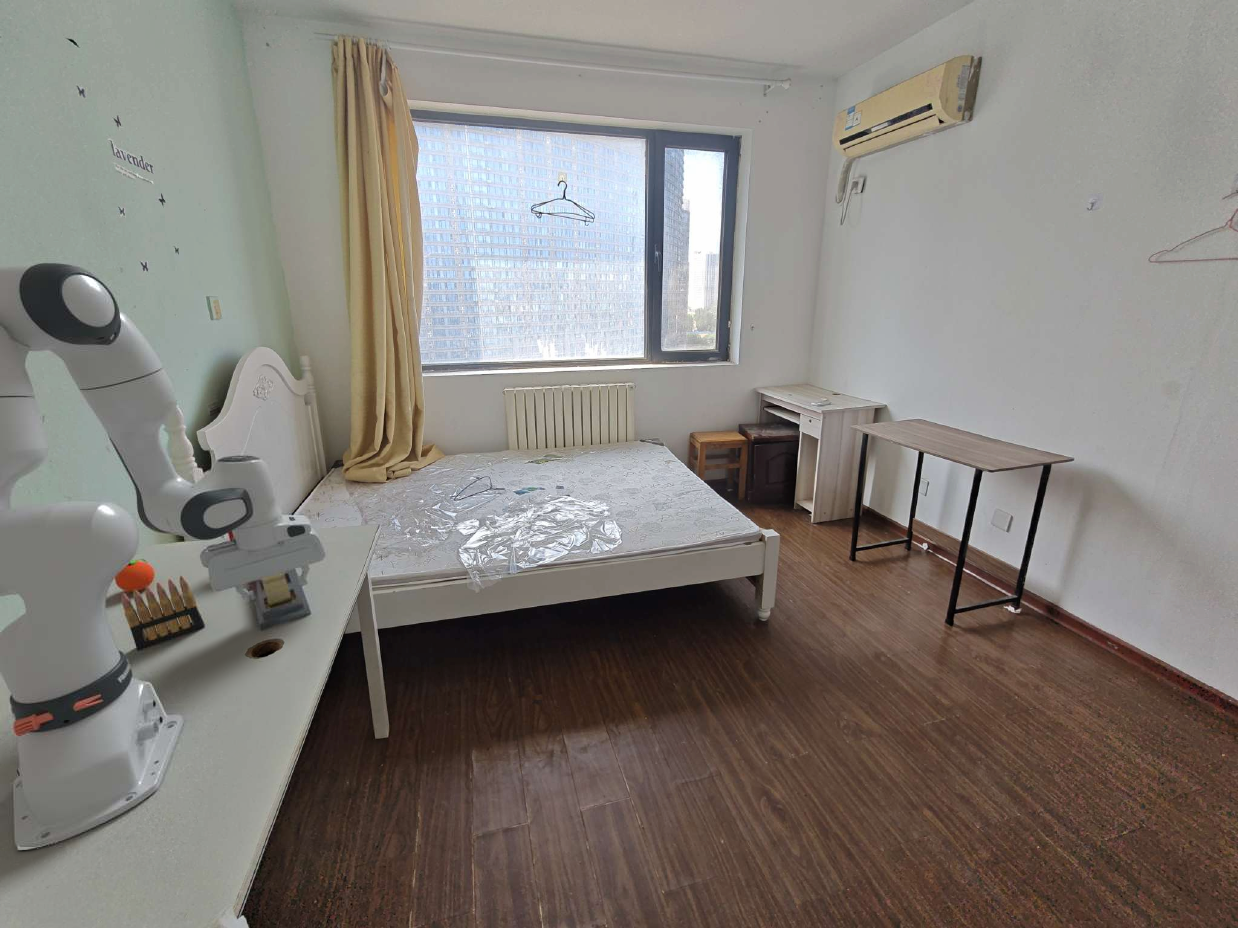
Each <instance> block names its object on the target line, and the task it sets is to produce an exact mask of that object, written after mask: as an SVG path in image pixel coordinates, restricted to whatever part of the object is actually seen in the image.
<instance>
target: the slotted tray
mask: <svg viewBox="0 0 1238 928" xmlns="http://www.w3.org/2000/svg"><path fill="white" fill-rule="evenodd" d="M296 569H297V568H296ZM296 569H293V570H289V571H286V572H284V574H285V578H286V581H287V585H288V588H289V592H290V595H291V599H292V601H291V602H288V603H285V604H282V605H279V606H276V607H273V608H270V606H269V603H268V600H267V596H266V593H265V590H264V586H263V582H262V579H259V580H256V581H252V582H250V583H251V591H252V590H253V592H254V595H255V599H256V600H255V601H254V605H255V610H256V616H257V621H258V626H259V629H260V631H265V630H267V629H270V628H272V627H276V626H278V625H282V624H284V623H288V622H290V621H293V620H296V619H299V618H302V617H305V616H308V615H311V614H312V613H311V612H312V611H311V609H310V605H309V602H308V599H307V597H306V594H305V592H304V589H303V586H299V583H298V579H297V577H298V576H299V575H298V572H297V570H296Z"/></svg>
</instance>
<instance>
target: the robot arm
mask: <svg viewBox="0 0 1238 928" xmlns="http://www.w3.org/2000/svg"><path fill="white" fill-rule="evenodd" d="M43 351H49V352H51V353H53V354H55V355H56V356H57V357H59V358H60V359H61V361H63V363H64V364H65V367H66V369H67V371H68V373H69V375H70V376H71V378H72V380H73V382H74V383H75V385H76V387H77V389H78V390H79V392H80V393H81V395H82V396H83V398H84V399H85V402H86V403H87V404H88V405H89V407H90V408H91V410H92V412H93V413H94V414H95V416H96V417H97V419H98V421H100V424H101V425H102V427H103V428H104V430H105V432H106V433H107V436H108V438H109V441H110V442H111V444H112V446H113V448H114V450H115V452H116V454H117V455H118V458H119V460H120V462H121V463H122V465H123V467H124V469H125V471H126V472H127V474H128V476H129V478H130V480H131V482H132V485H133V487H134V490H135V494H136V495H135V496H136V508H137V514H138V518H139V519H140V520H141V522H142V524H144V526H146V527H147V528H148V529H150V530H152V531H154V532H156V533H160V534H170V535H176V536H180V537H184V538H190V539H194V540H198V541H199V540H201V541H210V540H216V539H218V538H220V537H222V536H224V535H226V534H227V535H228V532H230V531H232V533H233V536H234V539H232V540H230V539H229V540H226V541H225V540H224V541H222V542H220V543H213V544H210V545H207V546H206V548H205V549H203V550H202V551H201V552H200V554H199V559H200V562H201V564H202V566H203V567H204V568H206V569H207V570H208V577H209V578H208V579H209V582H210V587H211V589H212V590H213V591H216V592H222V591H225V590H229V589H232V588H235V591H236V592H237V593H239V594H240V595H242V596H243V597H245V601H246V603H247V604H249V603H252V602H255V600H256V599H255V595H254V592H253V590H252V589H251V590H249V591H248V590H247V588H245V584H248V583H251V582H252V581H256V580H259V579H263V578H266V577H269V576H273V575H276V574H279V573H283V572H286V571H289V570H293V569H299V568H301V574H300V575H298V577H297V579H298V583H299V586H302V587H303V586H306V585H308V582H307V576H308V574H309V572H310V566H309V565H311V564H312V565H313V564H316V563H318V562H319V563H320V562H323V561H324V559H325V557H326V556H327V555H326V551H325V548H324V545H323V543H322V542H321V539H320V537H319V535H318V533H317V532H316V530H315V529H314V528H313V527H312V524H311V522H310V519H309V518H308V516H306V515H303V514H302V515H301V514H283V513H282V509H281V508H280V507H279V505H278V503H277V490H276V486H275V483H274V480H273V476H272V475H271V472H270V470H269V467H268V466H267V464H266V463H265V461H264V460H263V458H262V459H261V458H260V457H257V456H253V455H252V456H251V455H229V456H224V457H221V458H219V459H216V460H215V463H214V465H213V467H212V468H211V469H210V471H208V473H207V474H205V475H204V476H203V477H202V478H201V479H199V480H198V481H197V482H195V483H192V482H190V481H188V480H186V479H184V478H183V477H182V476H180V475H179V474H178V473H177V472H176V469H175V467H174V465H173V463H172V461H171V459H170V457H169V455H168V453H167V450H166V448H165V447H164V445H163V442H162V440H161V437H160V430H161V427H162V425H163V424H164V423H166V422H167V421H168V420H170V418H171V417H172V416H173V414H174V412H175V411H176V409H177V405H178V399H177V396H176V392H175V388H174V384H173V383H172V380H171V378H170V377H169V374H168V372H167V371H166V369H165V367H164V366H163V364H162V362H161V360H160V358H159V357H158V355H157V354H156V352H155V350H154V349H153V348H152V346H151V345H150V343H149V342H148V340H147V339H146V337H145V336H144V335H143V333H142V332H141V331H140V330H139V329H138V327H137V325H136V324H134V322H133V321H132V319H131V318H129V317H128V316H127V315H126V314H125V313H124V312H123V311H121V310H120V308H119V305H118V302H117V299H116V298H115V296H114V294H113V293H112V291H111V290H110V289H109V288H108V286H107V285H106V284H105V283H103V282H102V280H100V279H99V278H98V277H97V276H96V275H95V274H93V273H91V272H90V271H88V270H87V269H86V268H83V267H81V266H78V265H72V264H67V263H57V262H42V263H36V264H34V265H17V266H15V265H13V266H0V597H5V596H10V595H11V596H12V595H18V596H19V597H20V598H21V599H22V602H23V603H24V607H25V613H23V614H22V615H20V616H19V617H17V618H16V619H14V620H13V621H11V622H10V623H9V624H8V625H7V626H5V627H4V628H3V629H2V630H1V631H0V675H1V677H2V680H3V681H4V683H5V685H6V686H7V689H8V690H9V693H10V696H9V703H10V711H11V714H12V717H13V719H14V721H13V727H12V728H13V734H14V735H15V737H16V744H17V753H18V761H19V762H18V763H19V766H18V767H17V770H16V772H17V775H18V776H17V778H15V779H14V781H13V783H12V789H13V790H12V791H13V792H12V793H13V794H12V796H13V799H12V800H13V827H14V828H13V829H14V831H13V833H14V836H13V837H14V845H15V844H16V845H15V847H16V846H20V847H38V846H43V845H44V846H45V845H48V844H51V845H54V844H57V843H60V842H62V841H65V840H68V839H70V838H72V837H74V836H77V835H79V834H82V833H84V832H86V831H88V830H91V829H93V828H96V827H97V826H99V825H101V824H104V823H106V822H108V821H109V820H112V819H113V818H115V817H117V816H119V815H121V814H123V813H125V812H126V811H129V810H130V809H132V808H133V807H135V806H137V805H138V804H140V803H141V802H143V801H144V800H145V799H146V798H149V796H151V795H153V793H155V792H156V791H157V790H158V788H159V787H160V785H161V782H162V780H163V777H164V775H165V772H166V770H167V767H168V764H169V762H170V759H171V757H172V753H173V751H174V749H175V746H176V743H177V740H178V738H179V735H180V733H181V730H182V728H183V726H184V725H183V724H184V722H185V721H184V718H183V717H182V715H180V714H167V713H166V711H165V709H164V706H163V705H162V703H161V701H160V698H159V697H158V695H157V693H156V690H155V688H154V686H153V685H152V683H151V682H149V681H145V680H142V679H139V678H136V677H134V676H133V670H132V668H131V664H130V661H129V659H128V658H127V657H126V655H125V653H124V652H123V651H122V650H119V648H118V646H117V643H116V641H115V638H114V636H113V632H112V629H111V626H110V623H109V622H110V621H109V620H108V617H107V616H108V615H107V610H106V601H107V595H108V592H109V589H110V586H111V584H112V583H113V581H114V580H115V577H116V576H117V575H118V573H119V572H120V571H121V570H122V569H124V568H125V567H126V566H127V565H128V564H129V563H130V562H131V561H133V558H134V557H135V555H136V553H137V550H138V549H139V545H140V544H139V543H140V530H139V527H138V524H137V523H136V521H135V520H134V519H135V518H134V517H133V516H132V515H131V514H130V513H129V511H127V510H126V509H124V508H123V507H122V506H121V505H119V504H117V503H114V502H111V501H109V502H108V501H83V500H82V501H77V500H75V501H69V500H68V501H61V502H53V503H46V504H39V505H32V506H23V507H17V508H12V505H11V495H12V492H13V488H14V487H15V485H16V483H17V482H18V481H19V480H20V479H22V478H23V477H25V476H27V475H29V474H30V473H32V472H34V471H35V470H37V469H38V468H40V467H41V465H42V464H44V462H45V461H46V459H47V457H48V453H49V445H48V444H49V443H48V440H47V436H46V433H45V429H44V426H43V422H42V417H41V414H40V410H39V407H38V406H39V405H38V402H37V398H36V394H35V390H34V387H33V384H32V381H31V379H30V376H29V374H28V371H27V368H26V361H27V357H28V354H29V352H43ZM59 841H60V842H59ZM53 843H54V844H53ZM48 846H49V845H48ZM45 847H46V846H45Z"/></svg>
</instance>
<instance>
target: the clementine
mask: <svg viewBox="0 0 1238 928" xmlns="http://www.w3.org/2000/svg"><path fill="white" fill-rule="evenodd" d="M155 576H156V575H155V570H154V568H153V566H152V565H150V564H149V563H148V562H147V561H146V560H145V559H143V558H142V559H135V560H131V561H130V563H129V564H128V565H127V566H126V567H125V568H124V569H122V570H121V571H120V572H119V573H118V575H117V576H116V577H115V578H114V580H115V584H116V587H118V588H120V589H121V590H123V591H125V592H131V593H132V592H133V591H134V589H135V590H137V591H138V592H139V591H142V590H145V587H146V586H148V587H149V586H150V585H151V584H152V582H153V581H154V579H155Z"/></svg>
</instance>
